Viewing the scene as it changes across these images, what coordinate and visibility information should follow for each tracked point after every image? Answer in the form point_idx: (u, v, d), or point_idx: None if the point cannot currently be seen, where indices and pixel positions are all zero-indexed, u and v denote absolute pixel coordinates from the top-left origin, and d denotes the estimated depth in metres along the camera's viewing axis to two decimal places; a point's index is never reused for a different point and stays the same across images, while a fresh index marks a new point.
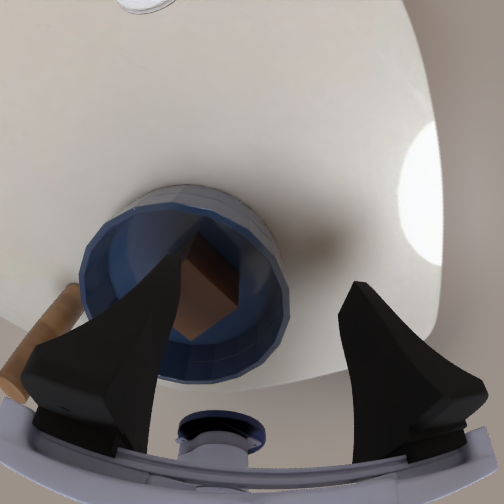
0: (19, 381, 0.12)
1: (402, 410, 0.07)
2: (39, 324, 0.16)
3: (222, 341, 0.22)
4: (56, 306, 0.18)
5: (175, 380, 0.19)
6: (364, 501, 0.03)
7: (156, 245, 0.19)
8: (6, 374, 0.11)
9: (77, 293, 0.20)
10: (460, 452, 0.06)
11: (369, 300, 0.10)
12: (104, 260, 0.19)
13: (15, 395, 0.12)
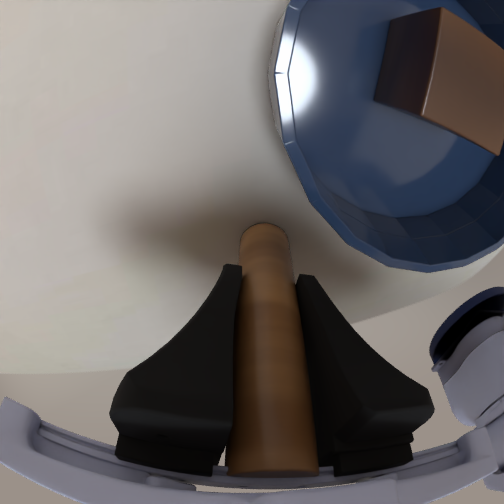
0: (290, 451, 0.06)
1: (329, 416, 0.07)
2: (245, 312, 0.10)
3: (483, 173, 0.12)
4: (251, 267, 0.12)
5: (487, 251, 0.10)
6: (364, 501, 0.03)
7: (351, 66, 0.10)
8: (250, 458, 0.05)
9: (266, 232, 0.13)
10: (460, 452, 0.06)
11: (309, 293, 0.10)
12: None
13: None
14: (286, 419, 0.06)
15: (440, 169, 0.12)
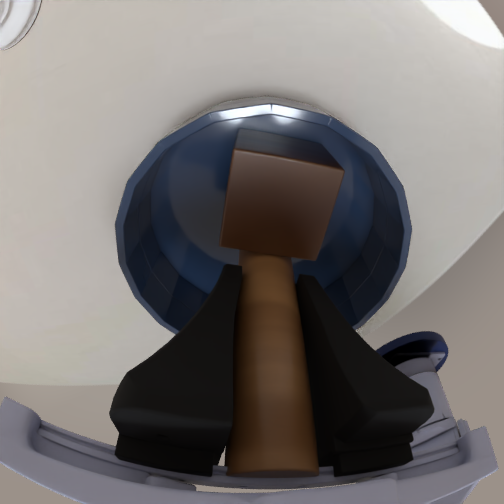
0: (290, 450, 0.06)
1: (329, 416, 0.07)
2: (245, 312, 0.10)
3: (347, 268, 0.17)
4: (251, 267, 0.12)
5: None
6: (364, 501, 0.03)
7: (202, 209, 0.15)
8: (250, 459, 0.05)
9: None
10: (460, 452, 0.06)
11: (309, 293, 0.10)
12: (162, 264, 0.16)
13: None
14: (286, 419, 0.06)
15: (295, 272, 0.17)
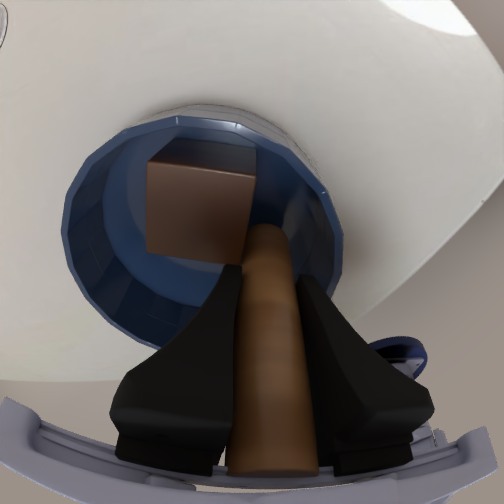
0: (290, 450, 0.06)
1: (329, 416, 0.07)
2: (245, 312, 0.10)
3: (296, 273, 0.17)
4: (251, 267, 0.12)
5: None
6: (364, 501, 0.03)
7: None
8: (250, 459, 0.05)
9: (266, 232, 0.13)
10: (460, 452, 0.06)
11: (309, 293, 0.10)
12: (115, 267, 0.16)
13: None
14: (286, 419, 0.06)
15: None
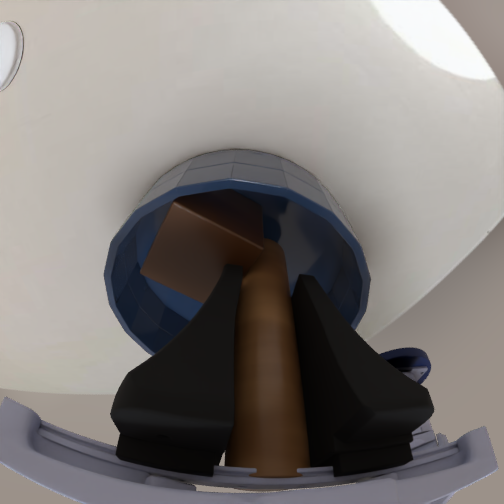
0: (251, 460, 0.06)
1: (329, 416, 0.07)
2: None
3: None
4: None
5: None
6: (364, 501, 0.03)
7: None
8: None
9: None
10: (460, 452, 0.06)
11: (309, 293, 0.10)
12: (149, 298, 0.18)
13: None
14: (250, 432, 0.07)
15: None
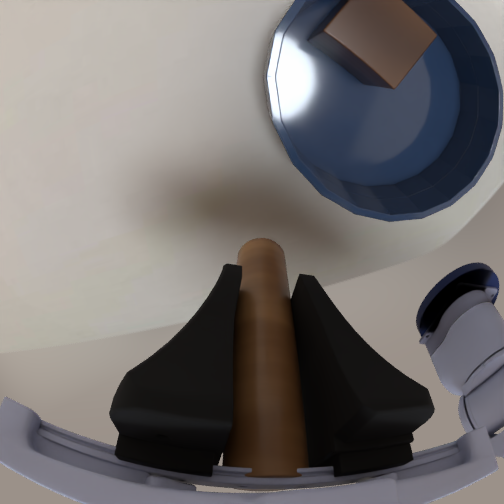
0: (249, 459, 0.06)
1: (329, 416, 0.07)
2: None
3: (443, 150, 0.15)
4: None
5: (441, 206, 0.13)
6: (364, 501, 0.03)
7: (326, 69, 0.13)
8: None
9: (246, 251, 0.14)
10: (460, 452, 0.06)
11: (309, 293, 0.10)
12: None
13: None
14: (248, 431, 0.07)
15: (402, 146, 0.15)
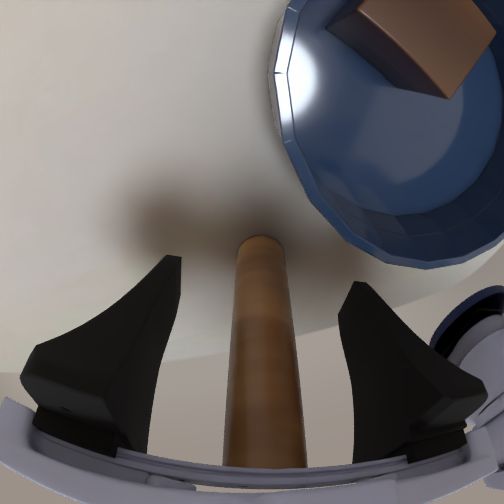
0: (249, 453, 0.06)
1: (402, 410, 0.07)
2: (231, 336, 0.11)
3: (481, 172, 0.12)
4: (235, 291, 0.12)
5: (484, 248, 0.10)
6: (364, 501, 0.03)
7: (350, 66, 0.10)
8: (224, 464, 0.06)
9: (246, 249, 0.14)
10: (460, 452, 0.06)
11: (369, 300, 0.10)
12: None
13: None
14: (247, 425, 0.07)
15: (438, 168, 0.12)
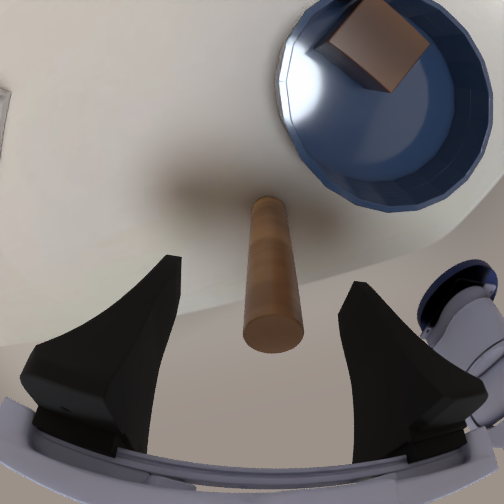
0: (263, 306, 0.11)
1: (402, 410, 0.07)
2: (248, 254, 0.16)
3: (438, 149, 0.17)
4: (251, 229, 0.17)
5: (435, 199, 0.15)
6: (364, 501, 0.03)
7: (330, 75, 0.15)
8: (245, 320, 0.11)
9: (258, 204, 0.19)
10: (460, 452, 0.06)
11: (369, 300, 0.10)
12: None
13: (283, 333, 0.11)
14: (262, 291, 0.12)
15: (400, 145, 0.17)
